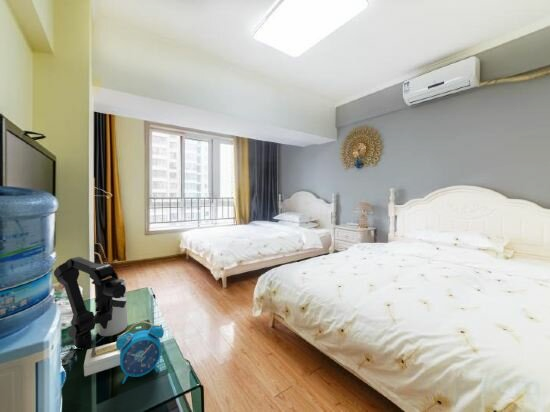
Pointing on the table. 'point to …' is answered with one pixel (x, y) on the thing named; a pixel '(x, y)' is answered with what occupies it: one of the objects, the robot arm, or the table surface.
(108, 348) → the brass clasp lever
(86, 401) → the table surface
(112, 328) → the cylinder vase
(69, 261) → the robot arm
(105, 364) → the box
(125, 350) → the alarm clock
